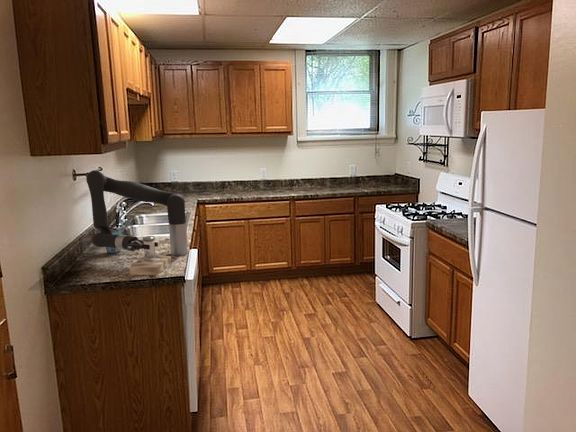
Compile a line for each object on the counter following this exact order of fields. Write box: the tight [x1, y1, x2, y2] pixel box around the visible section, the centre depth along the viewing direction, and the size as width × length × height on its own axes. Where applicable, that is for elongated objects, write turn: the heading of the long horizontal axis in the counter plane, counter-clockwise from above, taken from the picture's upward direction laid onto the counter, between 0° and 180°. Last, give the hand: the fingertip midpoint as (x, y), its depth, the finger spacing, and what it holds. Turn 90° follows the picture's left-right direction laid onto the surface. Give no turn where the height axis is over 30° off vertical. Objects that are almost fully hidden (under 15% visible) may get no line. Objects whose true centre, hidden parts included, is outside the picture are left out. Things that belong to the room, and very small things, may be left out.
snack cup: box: [105, 232, 123, 254], centre depth 260 cm, size 16×10×10 cm
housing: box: [141, 235, 157, 259], centre depth 225 cm, size 6×6×10 cm
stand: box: [129, 255, 172, 276], centre depth 226 cm, size 18×14×4 cm
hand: (153, 245), depth 223 cm, fingers closed on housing, 5 cm apart
